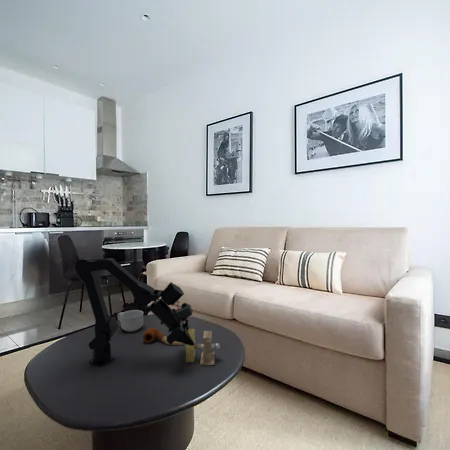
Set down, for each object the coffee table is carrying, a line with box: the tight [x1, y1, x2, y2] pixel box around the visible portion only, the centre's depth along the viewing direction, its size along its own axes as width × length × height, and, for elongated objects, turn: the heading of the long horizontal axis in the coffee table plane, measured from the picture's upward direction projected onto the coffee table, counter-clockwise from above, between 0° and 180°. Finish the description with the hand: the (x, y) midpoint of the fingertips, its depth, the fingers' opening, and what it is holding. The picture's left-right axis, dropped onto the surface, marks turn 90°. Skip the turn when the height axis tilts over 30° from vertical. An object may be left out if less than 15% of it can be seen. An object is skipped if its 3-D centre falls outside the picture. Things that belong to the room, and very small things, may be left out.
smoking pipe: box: [142, 327, 185, 346], centre depth 121 cm, size 7×18×6 cm, turn 79°
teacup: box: [116, 309, 144, 333], centre depth 137 cm, size 14×11×8 cm
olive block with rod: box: [185, 328, 221, 363], centre depth 105 cm, size 13×4×11 cm, turn 91°
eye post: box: [199, 330, 216, 366], centre depth 105 cm, size 5×9×10 cm, turn 1°
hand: (194, 342), depth 105 cm, fingers closed on olive block with rod, 4 cm apart
